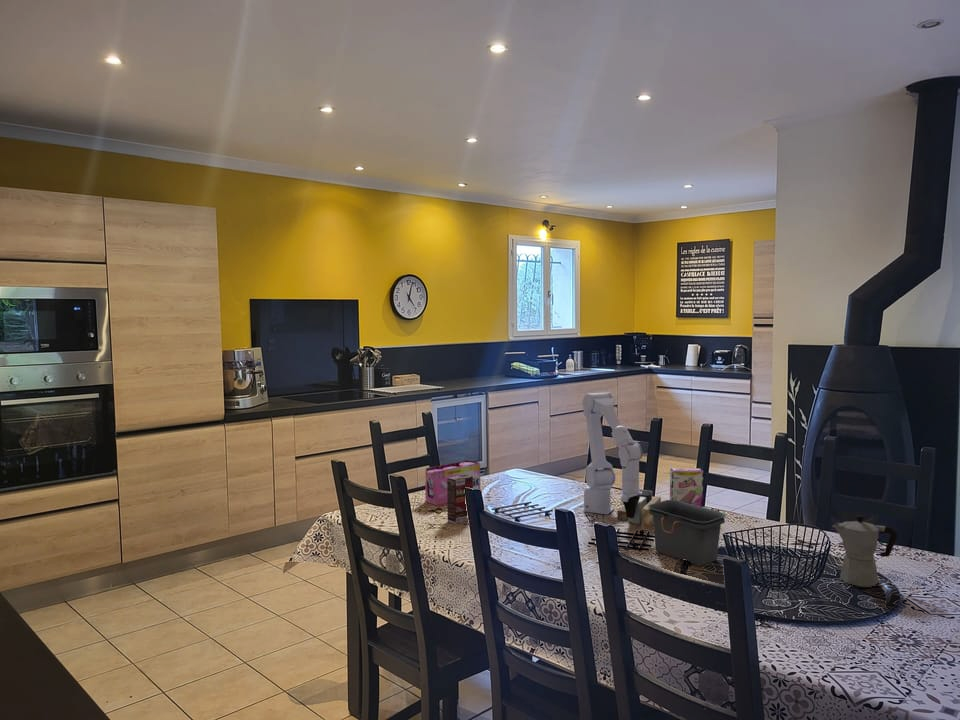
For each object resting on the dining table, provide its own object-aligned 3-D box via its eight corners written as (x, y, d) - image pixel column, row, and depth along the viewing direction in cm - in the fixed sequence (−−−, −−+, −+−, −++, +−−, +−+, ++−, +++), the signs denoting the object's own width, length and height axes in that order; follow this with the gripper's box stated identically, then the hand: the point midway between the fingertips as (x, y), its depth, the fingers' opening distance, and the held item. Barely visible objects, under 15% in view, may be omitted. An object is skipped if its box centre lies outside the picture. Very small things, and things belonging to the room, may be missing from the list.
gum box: (434, 506, 266) (433, 471, 265) (422, 502, 272) (421, 468, 271) (481, 495, 281) (480, 462, 280) (468, 491, 287) (468, 459, 286)
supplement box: (455, 524, 242) (454, 480, 241) (447, 521, 245) (446, 477, 244) (474, 519, 247) (473, 476, 246) (465, 517, 251) (464, 474, 250)
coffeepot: (833, 584, 184) (834, 517, 183) (829, 571, 193) (831, 508, 192) (900, 591, 178) (901, 523, 177) (893, 578, 187) (894, 513, 186)
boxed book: (628, 522, 242) (628, 502, 241) (636, 514, 250) (635, 495, 250) (639, 523, 240) (639, 503, 239) (646, 516, 248) (646, 496, 248)
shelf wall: (641, 529, 233) (641, 508, 233) (655, 515, 249) (655, 496, 249) (647, 530, 232) (647, 509, 232) (660, 516, 248) (660, 496, 248)
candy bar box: (671, 515, 249) (671, 470, 248) (669, 511, 254) (669, 467, 253) (703, 515, 248) (703, 470, 247) (700, 511, 253) (700, 467, 252)
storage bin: (730, 561, 202) (731, 513, 201) (698, 573, 193) (698, 523, 192) (671, 542, 219) (671, 498, 218) (639, 553, 210) (639, 507, 209)
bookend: (635, 514, 251) (635, 489, 251) (637, 511, 254) (637, 487, 253) (651, 516, 248) (651, 491, 248) (653, 513, 251) (653, 489, 251)
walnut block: (617, 518, 246) (617, 510, 245) (622, 514, 251) (622, 506, 251) (625, 520, 244) (625, 511, 244) (630, 515, 249) (630, 507, 249)
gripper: (636, 484, 230) (636, 524, 231) (647, 475, 243) (647, 513, 243) (615, 482, 233) (615, 521, 234) (627, 473, 246) (628, 511, 247)
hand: (630, 517), depth 239 cm, fingers closed
